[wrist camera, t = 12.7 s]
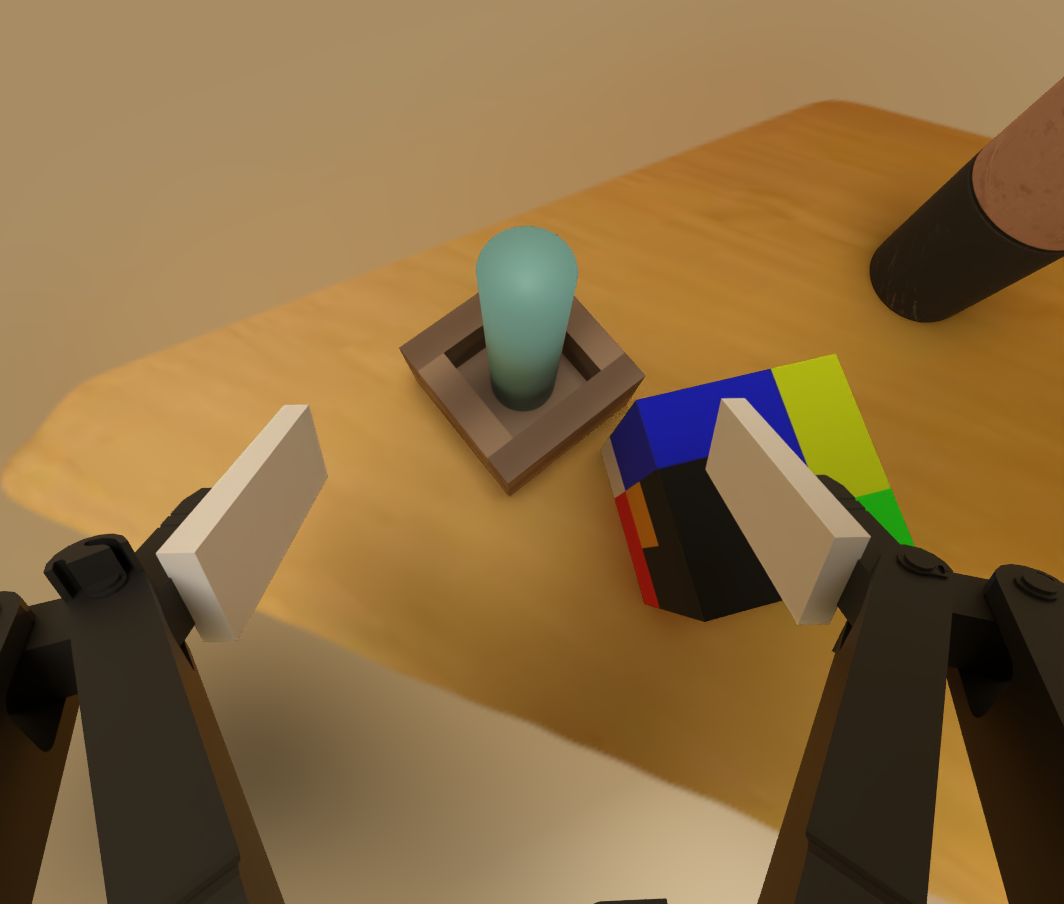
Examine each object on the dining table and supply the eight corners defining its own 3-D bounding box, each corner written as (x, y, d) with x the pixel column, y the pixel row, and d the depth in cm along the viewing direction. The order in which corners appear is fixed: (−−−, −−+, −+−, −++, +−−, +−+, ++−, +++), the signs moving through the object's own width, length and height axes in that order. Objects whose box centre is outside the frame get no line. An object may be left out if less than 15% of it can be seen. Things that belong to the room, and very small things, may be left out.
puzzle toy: (600, 449, 33) (635, 400, 23) (742, 415, 33) (835, 353, 24) (644, 603, 30) (704, 621, 21) (795, 563, 31) (921, 562, 22)
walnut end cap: (626, 403, 33) (645, 375, 28) (509, 496, 32) (508, 483, 27) (532, 296, 35) (535, 252, 30) (416, 380, 33) (399, 348, 28)
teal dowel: (567, 386, 31) (598, 278, 20) (518, 424, 31) (519, 336, 19) (527, 339, 32) (534, 209, 20) (478, 376, 31) (455, 262, 20)
